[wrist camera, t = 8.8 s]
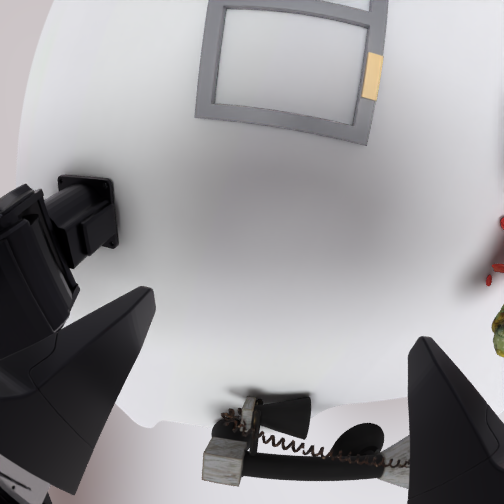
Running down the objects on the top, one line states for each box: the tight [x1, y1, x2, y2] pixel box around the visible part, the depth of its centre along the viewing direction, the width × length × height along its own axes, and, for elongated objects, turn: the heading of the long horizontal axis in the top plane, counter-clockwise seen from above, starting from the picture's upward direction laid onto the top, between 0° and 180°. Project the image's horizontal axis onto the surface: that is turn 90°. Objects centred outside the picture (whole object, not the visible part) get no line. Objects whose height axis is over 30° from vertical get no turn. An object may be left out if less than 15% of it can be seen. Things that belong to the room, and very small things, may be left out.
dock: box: [195, 0, 388, 146], centre depth 12 cm, size 11×17×1 cm, turn 173°
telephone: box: [202, 396, 410, 489], centre depth 30 cm, size 15×13×30 cm
